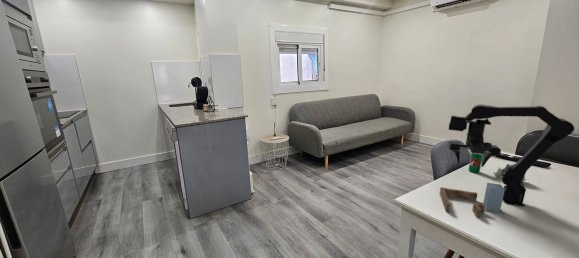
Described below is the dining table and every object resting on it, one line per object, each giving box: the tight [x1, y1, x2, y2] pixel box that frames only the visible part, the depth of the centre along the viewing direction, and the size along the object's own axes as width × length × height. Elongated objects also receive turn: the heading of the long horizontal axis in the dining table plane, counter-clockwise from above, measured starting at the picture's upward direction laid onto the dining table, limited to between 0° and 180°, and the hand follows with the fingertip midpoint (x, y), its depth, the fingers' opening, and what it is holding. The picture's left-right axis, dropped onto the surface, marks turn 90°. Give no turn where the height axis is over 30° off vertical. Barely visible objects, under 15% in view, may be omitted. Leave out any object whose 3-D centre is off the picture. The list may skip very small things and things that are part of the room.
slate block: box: [482, 182, 505, 212], centre depth 98 cm, size 4×4×10 cm
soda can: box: [468, 152, 483, 174], centre depth 134 cm, size 5×5×12 cm
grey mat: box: [478, 202, 505, 215], centre depth 99 cm, size 6×6×1 cm
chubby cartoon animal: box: [492, 163, 526, 182], centre depth 124 cm, size 7×12×8 cm, turn 45°
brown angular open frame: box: [439, 187, 485, 219], centre depth 101 cm, size 14×16×4 cm
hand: (469, 165), depth 111 cm, fingers open, 9 cm apart
